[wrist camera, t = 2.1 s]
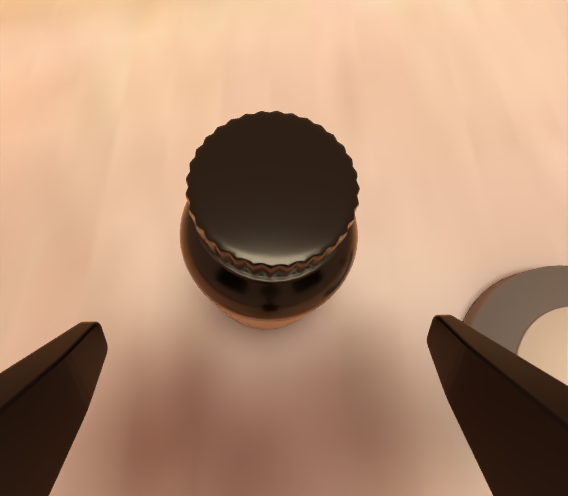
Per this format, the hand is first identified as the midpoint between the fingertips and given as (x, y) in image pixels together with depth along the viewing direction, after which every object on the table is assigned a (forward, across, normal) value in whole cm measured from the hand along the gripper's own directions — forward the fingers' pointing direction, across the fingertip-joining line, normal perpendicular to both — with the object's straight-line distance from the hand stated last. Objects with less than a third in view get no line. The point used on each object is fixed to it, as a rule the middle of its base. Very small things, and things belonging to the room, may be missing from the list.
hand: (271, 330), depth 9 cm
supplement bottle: (+10, 0, +5) cm, 12 cm away
